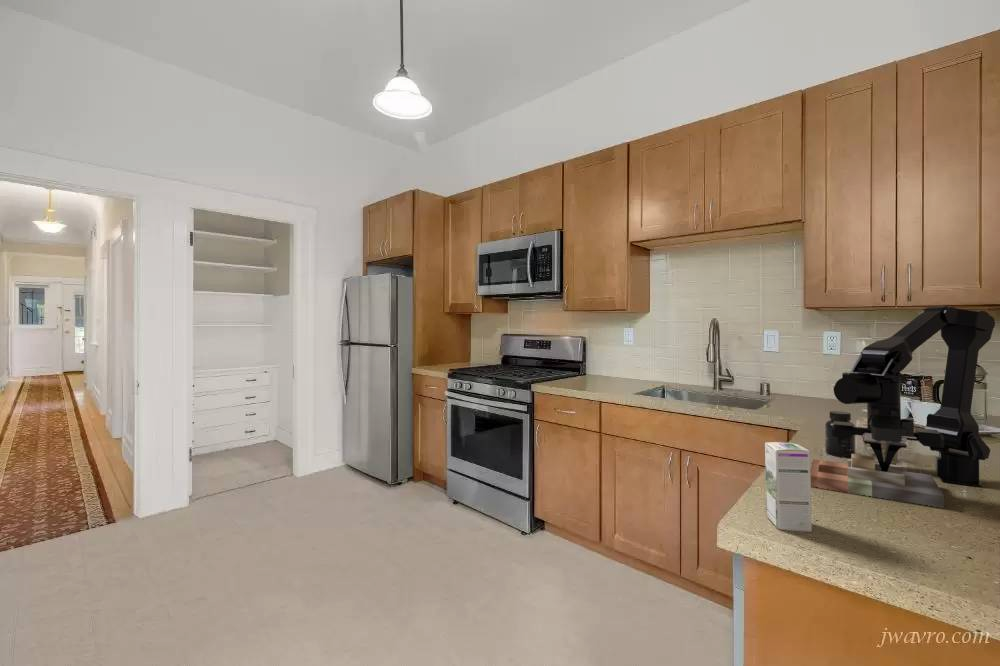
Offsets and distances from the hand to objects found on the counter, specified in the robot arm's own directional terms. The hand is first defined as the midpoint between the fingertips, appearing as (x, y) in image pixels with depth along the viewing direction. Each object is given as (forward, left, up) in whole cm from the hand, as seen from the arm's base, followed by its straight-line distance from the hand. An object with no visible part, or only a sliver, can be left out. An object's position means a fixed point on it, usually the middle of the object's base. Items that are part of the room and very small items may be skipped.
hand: (884, 472), depth 101 cm
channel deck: (+2, 0, -4) cm, 4 cm away
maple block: (+4, 0, -1) cm, 4 cm away
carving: (0, -20, -4) cm, 20 cm away
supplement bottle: (+8, -28, -4) cm, 29 cm away
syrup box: (+15, +34, -4) cm, 37 cm away
